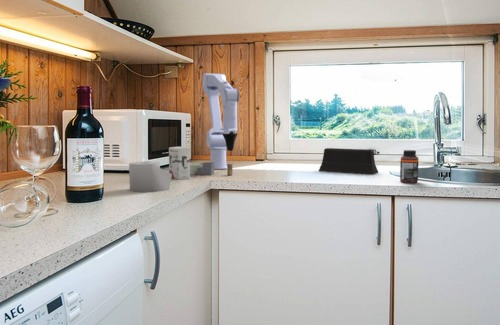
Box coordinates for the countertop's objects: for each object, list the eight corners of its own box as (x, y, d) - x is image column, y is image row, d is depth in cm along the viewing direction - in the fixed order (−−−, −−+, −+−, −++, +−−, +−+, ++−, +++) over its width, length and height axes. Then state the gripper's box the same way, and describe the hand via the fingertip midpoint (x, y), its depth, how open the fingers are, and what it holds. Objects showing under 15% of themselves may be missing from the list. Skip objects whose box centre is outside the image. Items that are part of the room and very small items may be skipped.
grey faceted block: (200, 174, 176) (199, 161, 176) (214, 174, 175) (213, 162, 175) (197, 175, 172) (196, 162, 172) (211, 175, 171) (211, 163, 171)
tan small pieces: (200, 171, 182) (200, 161, 182) (202, 171, 183) (202, 161, 183) (229, 175, 170) (229, 164, 169) (232, 175, 171) (232, 164, 170)
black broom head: (378, 173, 179) (379, 149, 178) (373, 175, 172) (373, 150, 171) (325, 169, 191) (325, 147, 190) (318, 171, 184) (318, 148, 183)
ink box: (168, 177, 165) (167, 146, 164) (179, 176, 168) (179, 146, 167) (179, 179, 159) (178, 148, 157) (190, 178, 161) (190, 147, 160)
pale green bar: (206, 172, 179) (205, 163, 179) (208, 172, 178) (208, 164, 177) (184, 173, 173) (183, 165, 173) (186, 174, 172) (185, 165, 171)
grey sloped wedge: (175, 190, 135) (174, 163, 134) (132, 193, 129) (131, 164, 129) (168, 186, 143) (168, 160, 142) (127, 188, 138) (127, 162, 137)
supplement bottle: (403, 180, 155) (404, 149, 154) (420, 182, 151) (421, 150, 150) (397, 182, 150) (398, 150, 149) (414, 184, 146) (415, 151, 145)
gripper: (224, 117, 184) (224, 149, 186) (216, 117, 170) (216, 151, 171) (240, 117, 183) (240, 149, 185) (233, 117, 169) (233, 152, 170)
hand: (230, 150), depth 178 cm, fingers closed
